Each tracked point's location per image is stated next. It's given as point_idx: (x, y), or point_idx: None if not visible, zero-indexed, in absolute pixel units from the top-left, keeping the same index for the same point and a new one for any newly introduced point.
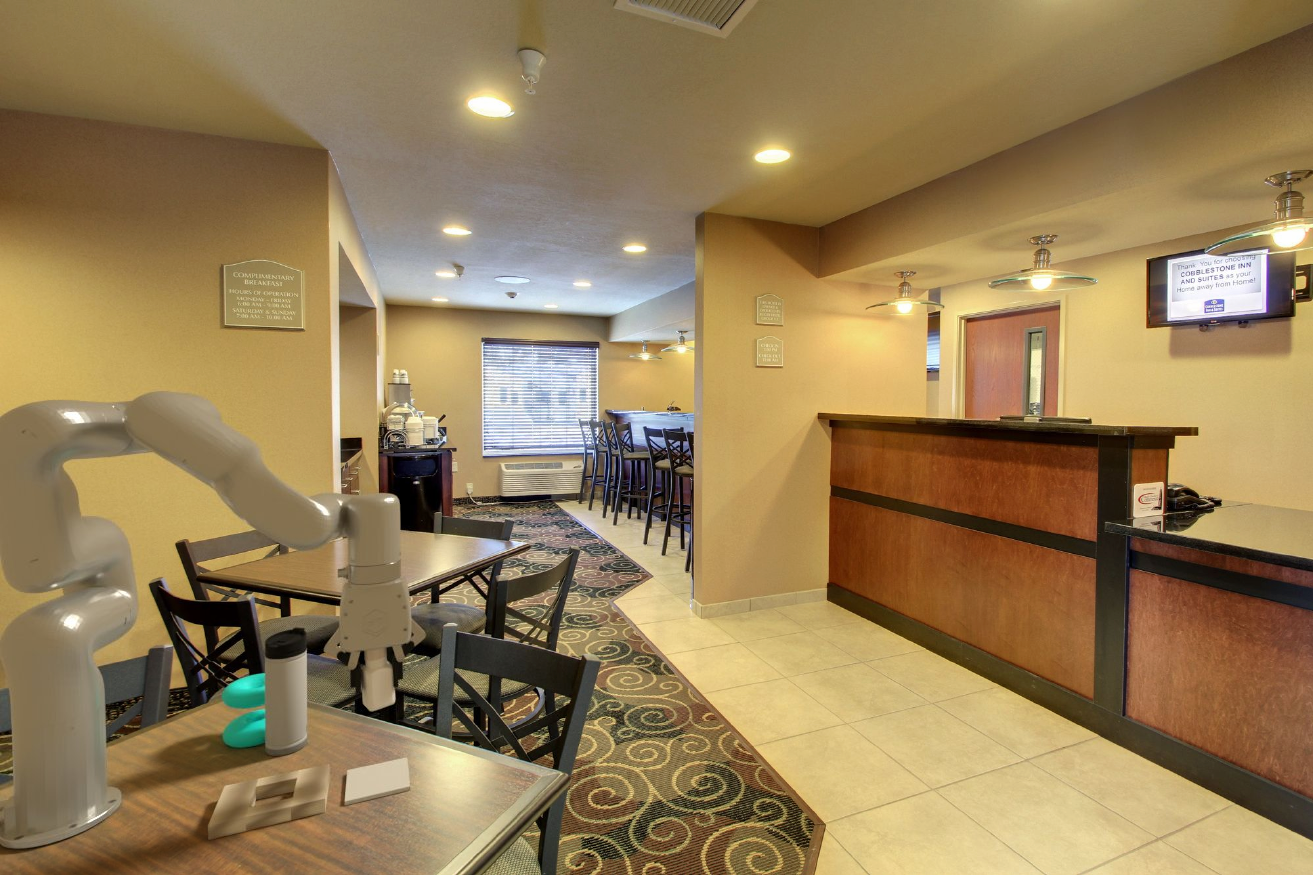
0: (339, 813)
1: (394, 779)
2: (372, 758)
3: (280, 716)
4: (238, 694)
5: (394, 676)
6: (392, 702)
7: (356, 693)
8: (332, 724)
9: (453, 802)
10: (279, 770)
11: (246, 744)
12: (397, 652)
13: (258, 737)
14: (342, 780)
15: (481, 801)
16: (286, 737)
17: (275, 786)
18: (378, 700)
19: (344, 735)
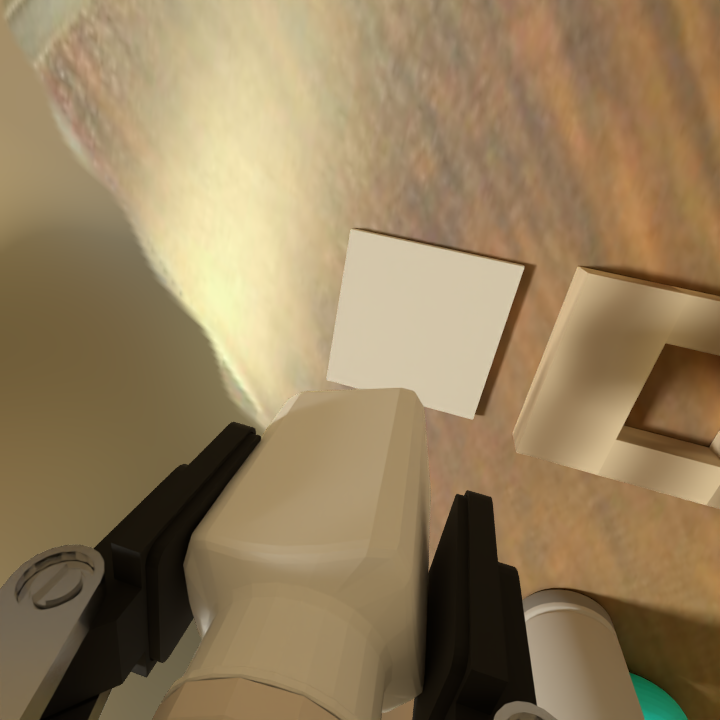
0: (546, 233)
1: (379, 292)
2: None
3: (619, 707)
4: None
5: (216, 476)
6: (303, 393)
7: (484, 498)
8: None
9: (264, 80)
10: (609, 538)
11: (648, 682)
12: (17, 656)
13: None
14: (491, 392)
15: (195, 32)
16: (584, 631)
17: (670, 448)
18: (367, 406)
19: None
